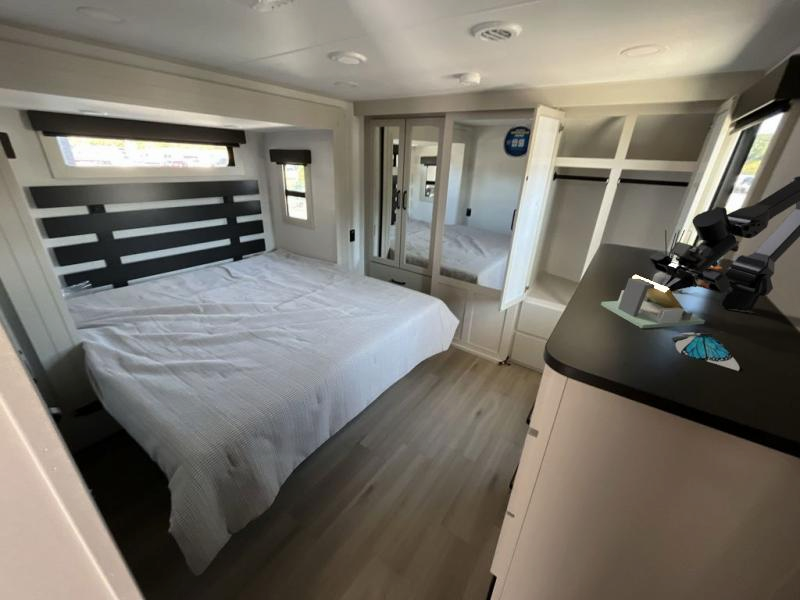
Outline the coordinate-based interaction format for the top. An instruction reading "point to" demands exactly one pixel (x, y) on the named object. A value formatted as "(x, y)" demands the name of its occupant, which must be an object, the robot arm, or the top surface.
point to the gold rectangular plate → (661, 296)
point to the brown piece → (706, 284)
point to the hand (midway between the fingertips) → (659, 293)
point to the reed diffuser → (661, 276)
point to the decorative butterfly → (705, 349)
